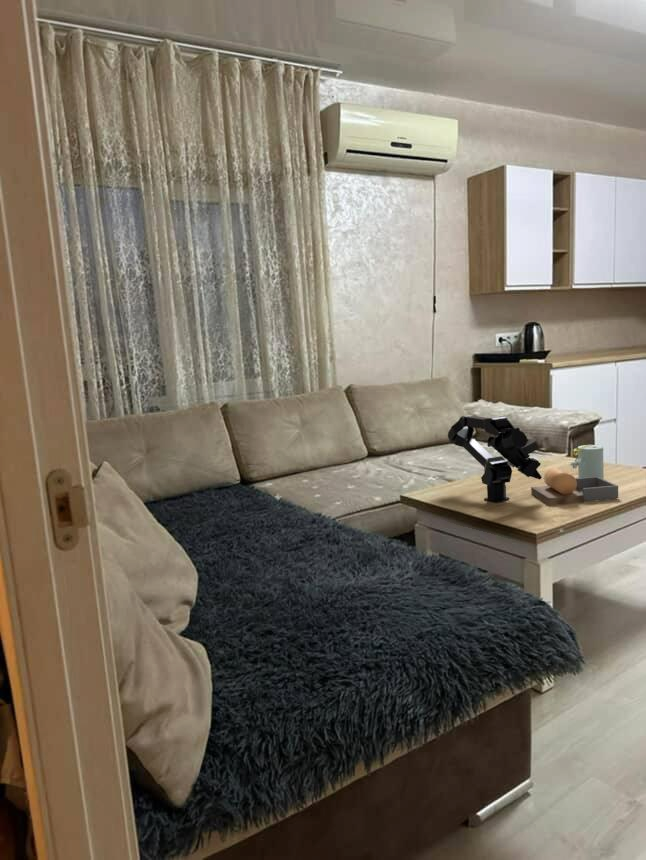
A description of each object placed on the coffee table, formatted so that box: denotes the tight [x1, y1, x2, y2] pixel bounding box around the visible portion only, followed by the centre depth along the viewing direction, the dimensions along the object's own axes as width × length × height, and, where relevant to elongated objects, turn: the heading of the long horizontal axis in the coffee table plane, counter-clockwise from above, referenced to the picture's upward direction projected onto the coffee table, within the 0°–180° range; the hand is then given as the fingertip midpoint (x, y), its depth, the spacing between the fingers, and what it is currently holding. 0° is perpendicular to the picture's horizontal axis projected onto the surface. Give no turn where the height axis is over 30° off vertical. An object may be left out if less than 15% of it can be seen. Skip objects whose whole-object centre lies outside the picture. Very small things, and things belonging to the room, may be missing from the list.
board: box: [530, 485, 585, 506], centre depth 214 cm, size 12×16×2 cm
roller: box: [543, 467, 577, 495], centre depth 213 cm, size 11×7×7 cm, turn 2°
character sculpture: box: [570, 444, 605, 480], centre depth 233 cm, size 20×12×13 cm, turn 137°
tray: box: [574, 477, 619, 503], centre depth 214 cm, size 12×15×4 cm
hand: (540, 478), depth 212 cm, fingers closed
